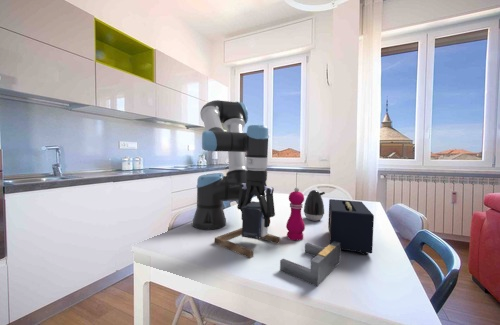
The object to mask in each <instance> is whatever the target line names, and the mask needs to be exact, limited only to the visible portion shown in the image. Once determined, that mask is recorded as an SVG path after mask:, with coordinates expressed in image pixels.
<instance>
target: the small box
mask: <svg viewBox="0 0 500 325" xmlns="http://www.w3.org/2000/svg"><path fill="white" fill-rule="evenodd" d="M262 217H264V216H263V213H262V209H261V206H260V203H259V201H253V200H251V202H250V203H249V204H247V205H246V206H244V207H243V215H242V214H241V218H242V219H241V220H242V221H241V222H242V226H241V228H242V235H241V237H242V238H247V239H254V240H259V239H261V238H260V237H261V222H262Z"/></svg>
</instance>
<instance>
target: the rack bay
mask: <svg viewBox="0 0 500 325" xmlns="http://www.w3.org/2000/svg"><path fill="white" fill-rule="evenodd" d="M340 247H341V243H339V242H335V241H334V242H333V243H331V244H330V243H329V244H328V245H327V246H326V247H323V246H319V245H316V244H313V243H309V242H306V243H304V253H305V254H307V255H309V256H310V255H311V256H313V258H312V259H311V260H310V268H309V267H307V266H304V265H301V264H299V263H296V262H293V261H291V260H288V259H285V258H281V259H280V260H279V262H280V263H279V265H280V266H279V271H280V272H281V273H284V274H286V275H289V276H291V277H294V278H295V279H298V280H301V281H303V282H305V283H308V284H310V285H313V286H315V287H319V286H320V284H322V282H323V281H324V280H326V278H327V277H328V276H330V274H331V272H332V271H333V270H334V269H335V268H336V267H337V266H338V265H339V264H340V262H341V249H340Z"/></svg>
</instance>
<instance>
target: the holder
mask: <svg viewBox="0 0 500 325" xmlns="http://www.w3.org/2000/svg"><path fill="white" fill-rule="evenodd" d="M239 236H240V237H241V236H242V227H240V228H237V229H234V230H233V231H230V232H227V233H224V234H222V235H219V236H216V237H214V244H216V245H218V246H220V247H223V248H225V249H227V250H229V251H232V252H235V253H237V254H239V255H241V256H243V257H244V256H245V257H247V258H249V259H251V258H253V257H254V250H253V249H250V248H247V247H245V246H243V245H240V244H238V243H235V242H232V241H230V240H232V239H234V238H236V237H237V238H238V237H239ZM259 239H262V240H266V241H268V242H271V243H274V244H279V243H280V236H276V235H274V234H270V233H268V232H267V235H266V236H264V237H260V238H259Z"/></svg>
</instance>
